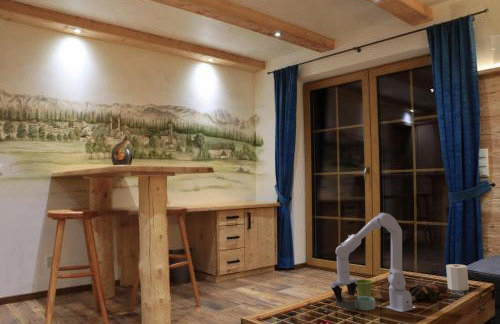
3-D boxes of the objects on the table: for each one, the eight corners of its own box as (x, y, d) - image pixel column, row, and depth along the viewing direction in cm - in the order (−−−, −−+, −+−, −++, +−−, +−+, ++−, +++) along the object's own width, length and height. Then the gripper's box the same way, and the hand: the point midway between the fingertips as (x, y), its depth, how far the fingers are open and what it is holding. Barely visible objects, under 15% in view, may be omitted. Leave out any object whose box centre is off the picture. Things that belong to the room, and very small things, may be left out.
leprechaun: (394, 294, 206) (431, 282, 215) (404, 313, 201) (441, 300, 210) (406, 287, 197) (444, 275, 207) (416, 306, 192) (455, 293, 202)
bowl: (379, 308, 192) (378, 299, 192) (365, 311, 187) (364, 302, 188) (365, 303, 200) (364, 295, 200) (351, 307, 195) (350, 298, 196)
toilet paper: (455, 291, 214) (453, 268, 215) (443, 287, 224) (441, 264, 225) (473, 290, 215) (471, 266, 216) (460, 285, 226) (458, 263, 227)
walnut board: (357, 300, 190) (357, 297, 190) (348, 302, 187) (348, 298, 187) (341, 295, 199) (341, 292, 199) (332, 297, 197) (332, 294, 197)
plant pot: (352, 300, 207) (351, 282, 208) (357, 295, 216) (356, 278, 216) (371, 301, 203) (370, 283, 203) (375, 296, 211) (374, 279, 212)
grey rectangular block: (355, 310, 189) (354, 300, 190) (350, 311, 188) (349, 301, 188) (341, 305, 198) (340, 296, 198) (336, 306, 197) (335, 297, 197)
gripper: (349, 268, 201) (351, 296, 200) (325, 272, 194) (327, 301, 193) (359, 270, 195) (361, 299, 194) (335, 274, 188) (337, 304, 187)
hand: (345, 300), depth 193 cm, fingers open, 7 cm apart
